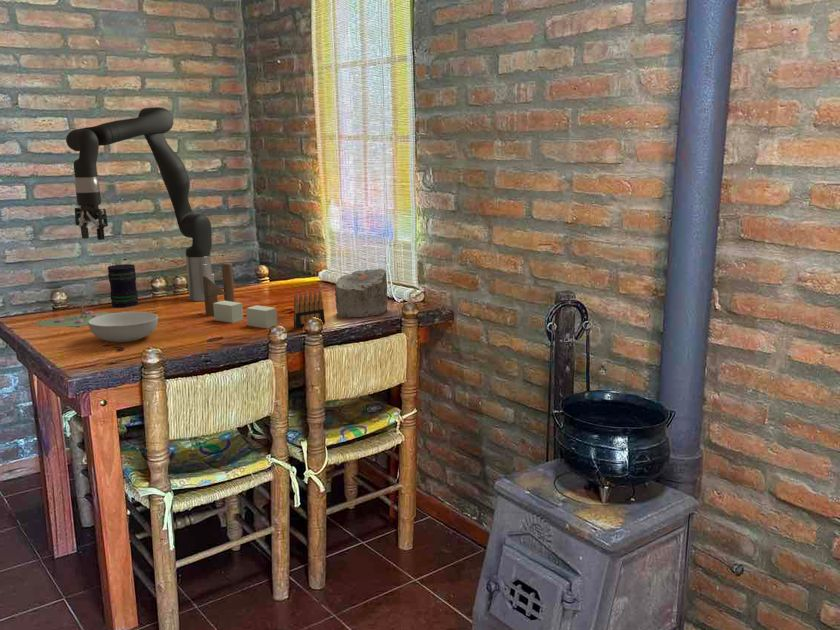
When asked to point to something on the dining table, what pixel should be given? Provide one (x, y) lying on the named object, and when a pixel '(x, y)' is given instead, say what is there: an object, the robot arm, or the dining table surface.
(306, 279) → the dining table surface
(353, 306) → the petrified wood
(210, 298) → the wooden angular bracket
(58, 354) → the dining table surface
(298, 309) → the ammunition clip
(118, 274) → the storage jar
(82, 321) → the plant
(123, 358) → the dining table surface
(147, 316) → the serving bowl
